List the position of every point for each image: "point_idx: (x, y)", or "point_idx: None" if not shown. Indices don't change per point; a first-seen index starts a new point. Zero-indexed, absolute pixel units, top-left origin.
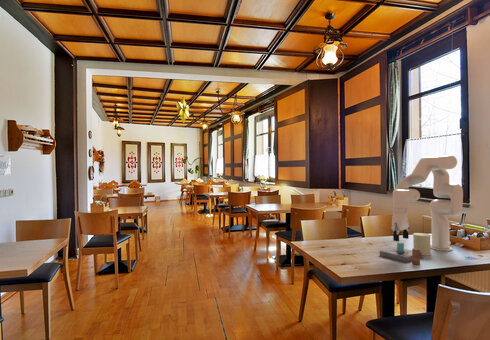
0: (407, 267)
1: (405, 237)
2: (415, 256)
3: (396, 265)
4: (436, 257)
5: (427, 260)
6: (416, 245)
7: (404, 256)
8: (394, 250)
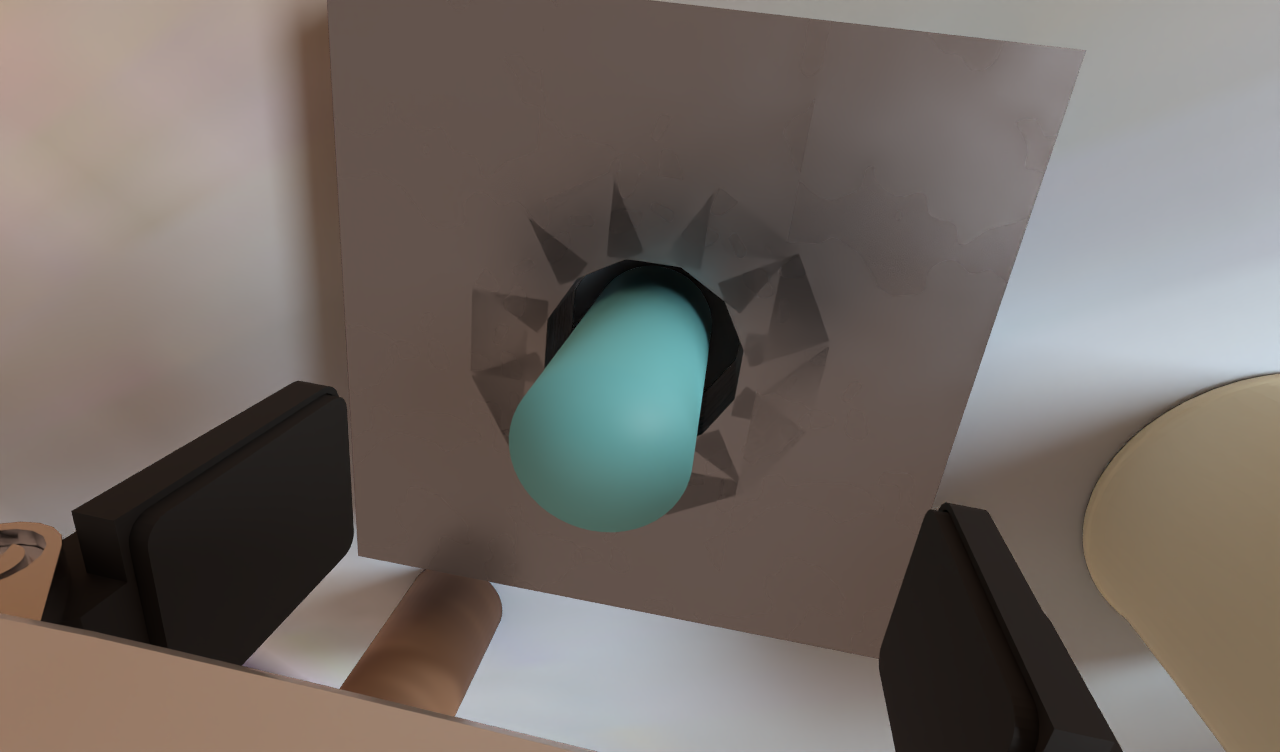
0: None
1: (907, 616)
2: None
3: (165, 446)
4: None
5: (773, 667)
6: (1231, 580)
7: (366, 520)
8: (635, 225)
